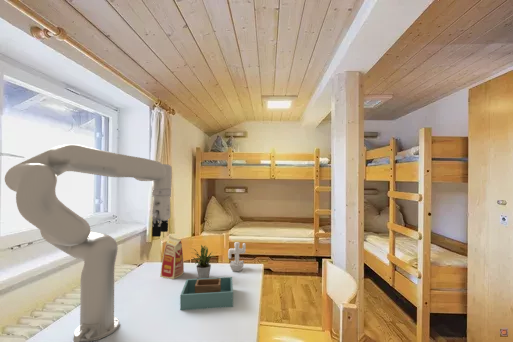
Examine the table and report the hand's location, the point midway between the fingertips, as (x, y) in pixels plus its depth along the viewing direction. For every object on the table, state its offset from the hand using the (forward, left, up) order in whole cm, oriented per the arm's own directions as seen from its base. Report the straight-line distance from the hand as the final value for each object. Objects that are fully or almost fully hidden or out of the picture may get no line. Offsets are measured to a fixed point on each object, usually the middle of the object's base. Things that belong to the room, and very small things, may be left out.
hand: (160, 234), depth 105 cm
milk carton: (+25, 0, -27) cm, 37 cm away
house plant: (+20, -15, -27) cm, 37 cm away
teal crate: (-3, -20, -27) cm, 34 cm away
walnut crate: (-3, -20, -26) cm, 33 cm away
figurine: (+28, -33, -27) cm, 51 cm away
